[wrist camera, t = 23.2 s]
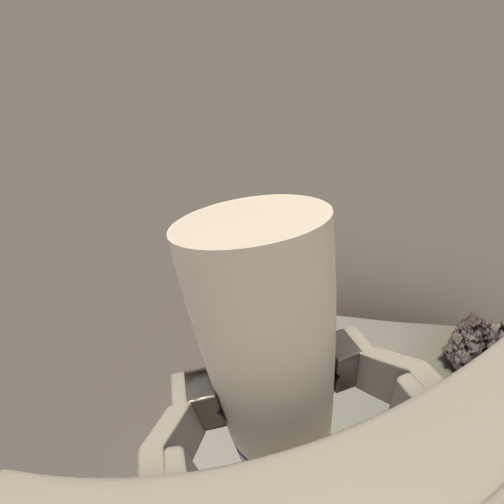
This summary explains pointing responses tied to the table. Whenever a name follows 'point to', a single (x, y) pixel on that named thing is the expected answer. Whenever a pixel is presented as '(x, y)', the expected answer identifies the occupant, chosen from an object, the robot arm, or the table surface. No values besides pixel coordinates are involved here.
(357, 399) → the table surface
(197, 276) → the tube
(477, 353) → the mineral specimen
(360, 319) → the table surface
